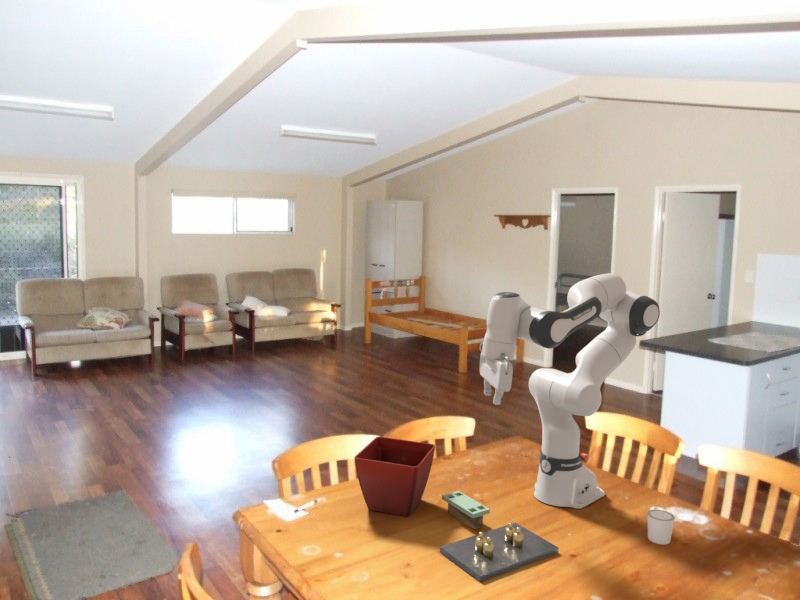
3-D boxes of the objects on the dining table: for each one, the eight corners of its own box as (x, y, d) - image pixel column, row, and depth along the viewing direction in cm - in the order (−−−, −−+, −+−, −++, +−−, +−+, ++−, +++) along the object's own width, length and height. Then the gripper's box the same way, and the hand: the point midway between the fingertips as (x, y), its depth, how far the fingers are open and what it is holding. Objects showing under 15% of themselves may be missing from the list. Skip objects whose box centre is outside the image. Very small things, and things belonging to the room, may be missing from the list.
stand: (456, 510, 195) (456, 497, 194) (482, 526, 185) (483, 513, 184) (447, 512, 193) (448, 499, 192) (474, 529, 183) (474, 515, 182)
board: (442, 499, 192) (442, 495, 192) (458, 494, 196) (458, 490, 196) (472, 518, 181) (472, 514, 181) (489, 513, 184) (489, 509, 184)
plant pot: (416, 524, 185) (417, 466, 183) (352, 513, 191) (353, 457, 189) (434, 497, 203) (436, 444, 201) (376, 487, 209) (377, 436, 207)
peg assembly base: (515, 527, 185) (516, 506, 184) (558, 552, 171) (559, 530, 170) (439, 552, 170) (440, 529, 170) (479, 582, 157) (480, 557, 156)
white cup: (672, 535, 182) (674, 511, 181) (673, 547, 175) (675, 522, 174) (645, 531, 184) (647, 507, 183) (645, 542, 178) (647, 518, 177)
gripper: (521, 359, 174) (513, 410, 175) (499, 345, 194) (493, 391, 195) (497, 357, 173) (490, 408, 174) (478, 343, 193) (472, 389, 194)
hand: (491, 399), depth 185 cm, fingers open, 8 cm apart
